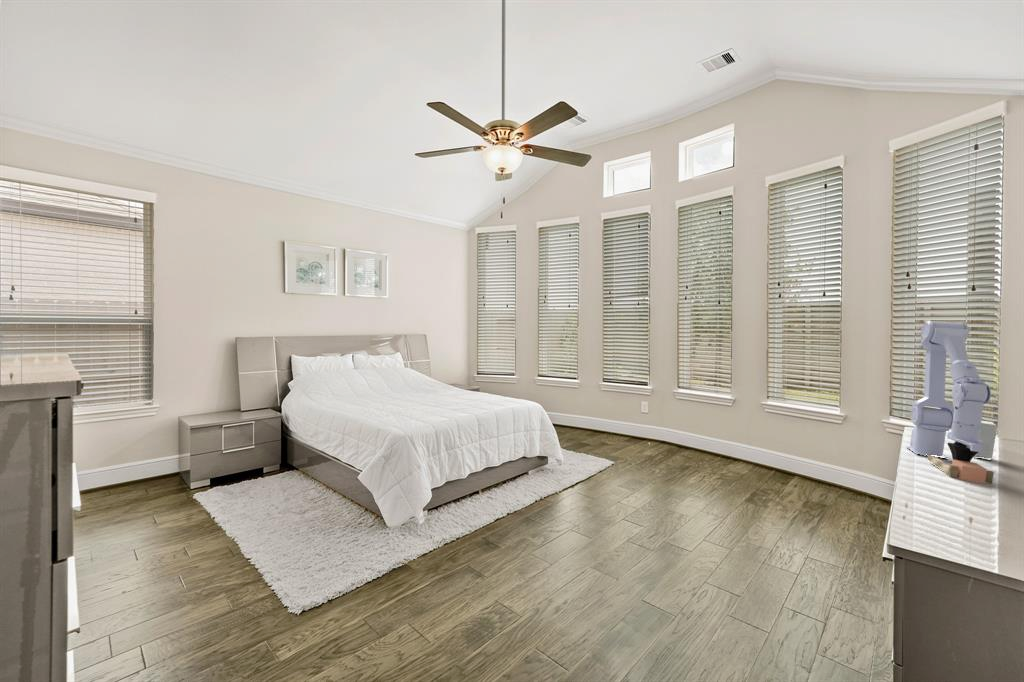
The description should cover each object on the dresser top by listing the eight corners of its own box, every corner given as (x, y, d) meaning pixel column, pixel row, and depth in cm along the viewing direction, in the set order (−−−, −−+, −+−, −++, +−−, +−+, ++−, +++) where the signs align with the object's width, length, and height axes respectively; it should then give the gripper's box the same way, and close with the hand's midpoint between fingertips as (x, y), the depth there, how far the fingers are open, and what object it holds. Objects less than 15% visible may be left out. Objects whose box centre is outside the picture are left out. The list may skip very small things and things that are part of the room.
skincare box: (992, 461, 143) (997, 425, 142) (973, 458, 146) (978, 422, 145) (987, 457, 148) (992, 421, 147) (969, 453, 151) (974, 419, 150)
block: (950, 472, 130) (952, 459, 129) (973, 476, 127) (975, 462, 127) (960, 479, 124) (962, 465, 124) (984, 483, 122) (986, 469, 122)
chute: (927, 461, 139) (928, 451, 139) (964, 466, 136) (965, 456, 136) (950, 476, 126) (951, 465, 126) (992, 483, 122) (993, 472, 122)
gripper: (999, 431, 120) (992, 480, 122) (971, 420, 134) (965, 464, 135) (965, 427, 123) (958, 474, 124) (941, 416, 137) (935, 459, 138)
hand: (959, 469), depth 130 cm, fingers closed
